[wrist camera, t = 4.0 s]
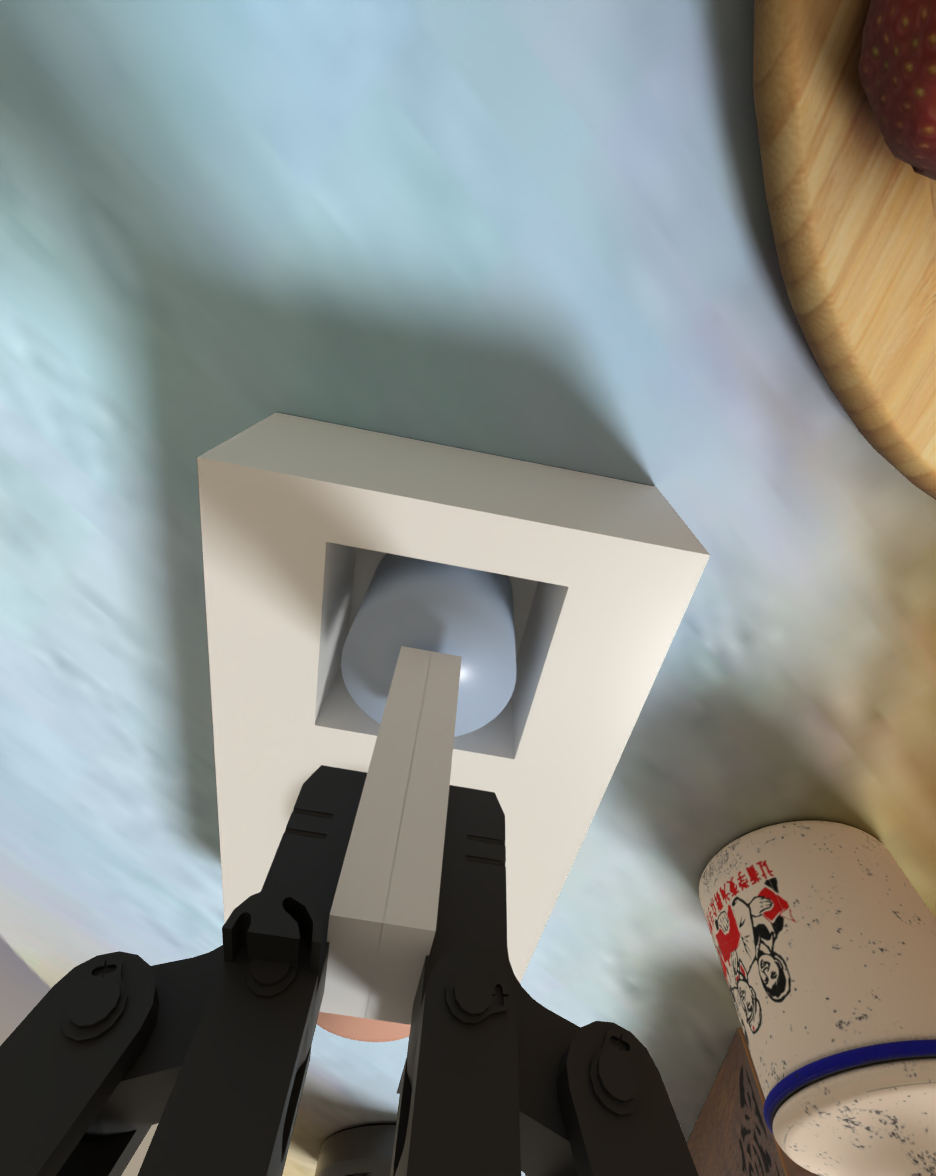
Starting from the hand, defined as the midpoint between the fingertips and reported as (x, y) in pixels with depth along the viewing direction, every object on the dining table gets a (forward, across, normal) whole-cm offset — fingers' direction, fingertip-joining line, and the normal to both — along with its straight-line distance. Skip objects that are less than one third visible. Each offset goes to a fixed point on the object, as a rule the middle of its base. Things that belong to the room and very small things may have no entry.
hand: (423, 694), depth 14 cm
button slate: (+5, 0, 0) cm, 5 cm away
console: (+6, 0, +8) cm, 10 cm away
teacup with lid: (+6, -19, +14) cm, 24 cm away
